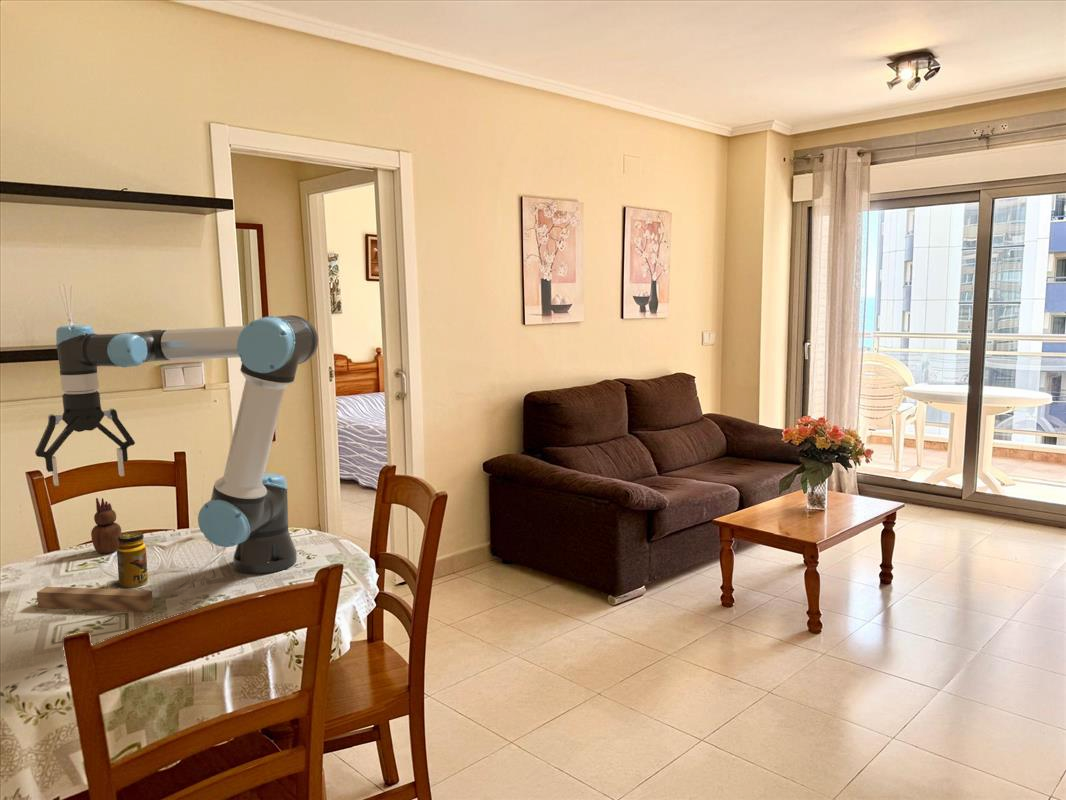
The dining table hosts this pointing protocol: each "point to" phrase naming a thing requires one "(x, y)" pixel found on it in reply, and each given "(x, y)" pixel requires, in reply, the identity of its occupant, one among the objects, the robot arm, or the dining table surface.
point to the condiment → (131, 562)
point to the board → (95, 599)
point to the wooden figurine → (105, 529)
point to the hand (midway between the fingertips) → (89, 479)
